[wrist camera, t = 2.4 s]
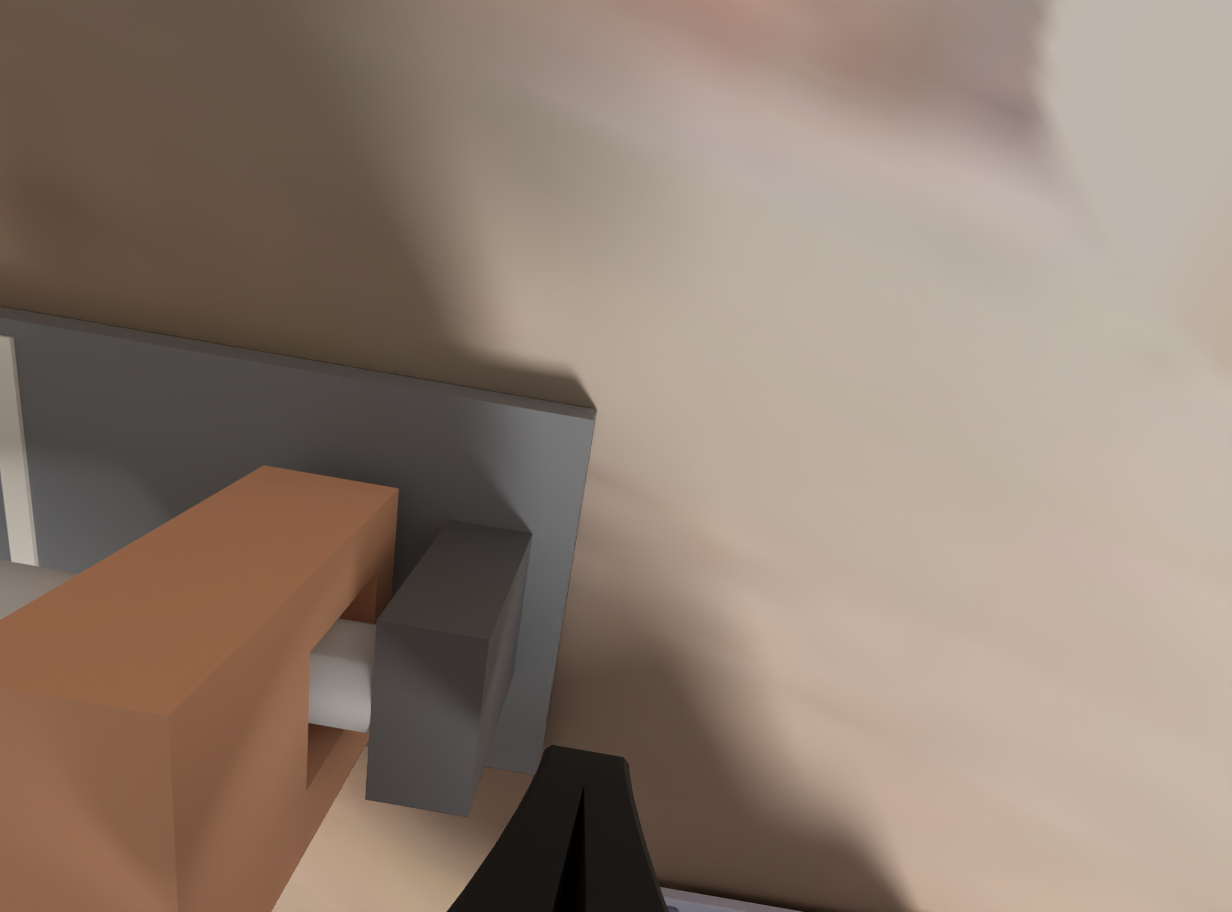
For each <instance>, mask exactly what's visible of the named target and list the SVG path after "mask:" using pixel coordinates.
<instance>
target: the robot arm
mask: <svg viewBox="0 0 1232 912" xmlns="http://www.w3.org/2000/svg"><path fill="white" fill-rule="evenodd" d="M667 906H673V907H667ZM560 911H561V912H802V911H796V910H790V909H785V908H779V907H773V906H767V905H762V904H756V903H750V902H744V901H738V900H733V899H727V898H721V897H715V896H710V895H704V894H698V893H692V892H686V891H681V890H675V889H669V888H663V887H660V886H659V883H658V880H657V877H656V874H655V871H654V868H653V865H652V862H651V858H650V855H649V852H648V849H647V846H646V843H645V839H644V836H643V832H642V829H641V825H640V821H639V817H638V813H637V809H636V805H635V801H634V796H633V791H632V786H631V780H630V774H629V764H628V763H627V762H626V760H625V759H624V758H623V757H618V756H613V755H607V754H601V753H595V752H590V751H584V750H578V749H572V748H566V747H561V746H555V745H551V746H550V747H548V748H546V749H545V750H544V753H543V756H542V759H541V762H540V764H539V767H538V769H537V771H536V774H535V776H534V778H533V780H532V782H531V784H530V786H529V788H528V790H527V792H526V794H525V795H524V797H523V799H522V801H521V803H520V805H519V807H518V808H517V810H516V812H515V813H514V815H513V816H512V818H511V820H510V821H509V823H508V825H507V826H506V828H505V830H504V831H503V833H502V835H501V836H500V838H499V839H498V841H497V843H496V844H495V846H494V847H493V849H492V850H491V852H490V853H489V854H488V856H487V857H486V859H485V860H484V862H483V863H482V864H481V866H480V867H479V869H478V870H477V872H476V873H475V874H474V876H473V877H472V879H471V880H470V882H469V883H468V884H467V886H466V887H465V889H464V890H463V891H462V893H461V894H460V895H459V897H458V898H457V899H456V900H455V902H454V903H453V904H452V906H451V907H450V908H449V910H448V911H447V912H560Z"/></svg>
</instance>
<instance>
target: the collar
mask: <svg viewBox="0 0 1232 912" xmlns="http://www.w3.org/2000/svg"><path fill="white" fill-rule="evenodd" d="M398 495H399V488H393V487H387V486H381V485H376V484H370V483H364V482H358V481H353V480H347V479H341V478H335V477H329V476H324V475H318V474H312V473H306V472H300V471H295V470H289V469H283V468H277V467H271V466H266V465H263V466H262V467H260V468H258V469H256V470H255V471H253V472H251V473H250V474H248V475H246V476H245V477H243V478H241V479H239V480H238V481H236V482H234V483H233V484H231V485H229V486H227V487H226V488H224V489H222V490H221V491H219V492H217V493H216V494H214V495H212V496H210V497H209V498H207V499H205V500H204V501H202V502H200V503H199V504H197V505H195V506H193V507H192V508H190V509H188V510H187V511H185V512H183V513H181V514H180V515H178V516H176V517H175V518H173V519H171V520H170V521H168V522H166V523H164V524H163V525H161V526H159V527H158V528H156V529H154V530H153V531H151V532H149V533H147V534H146V535H144V536H142V537H141V538H139V539H137V540H136V541H134V542H132V543H130V544H129V545H127V546H125V547H124V548H122V549H120V550H118V551H117V552H115V553H113V554H112V555H110V556H108V557H107V558H105V559H103V560H101V561H100V562H98V563H96V564H95V565H93V566H91V567H90V568H88V569H86V570H84V571H83V572H81V573H79V574H78V575H76V576H74V577H72V578H71V579H69V580H67V581H66V582H64V583H62V584H61V585H59V586H57V587H55V588H54V589H52V590H50V591H49V592H47V593H45V594H44V595H42V596H40V597H38V598H37V599H35V600H33V601H32V602H30V603H28V604H26V605H25V606H23V607H21V608H20V609H18V610H16V611H15V612H13V613H11V614H9V615H8V616H6V617H4V618H3V619H1V620H0V912H271V911H272V909H273V908H274V906H275V904H276V902H277V900H278V899H279V897H280V895H281V893H282V892H283V890H284V888H285V886H286V885H287V883H288V881H289V879H290V878H291V876H292V874H293V872H294V870H295V869H296V867H297V865H298V863H299V862H300V860H301V858H302V856H303V855H304V853H305V851H306V849H307V848H308V846H309V844H310V842H311V841H312V839H313V837H314V835H315V833H316V832H317V830H318V828H319V826H320V825H321V823H322V821H323V819H324V818H325V816H326V814H327V812H328V811H329V809H330V807H331V805H332V803H333V802H334V800H335V798H336V796H337V795H338V793H339V791H340V789H341V788H342V786H343V784H344V782H345V781H346V779H347V777H348V775H349V773H350V772H351V770H352V768H353V766H354V765H355V763H356V761H357V759H358V758H359V756H360V754H361V752H362V751H363V749H364V747H365V745H366V744H367V742H368V740H369V733H363V732H357V731H352V730H346V729H340V728H334V727H328V726H323V725H317V724H311V723H308V714H309V680H310V652H311V651H312V649H313V648H314V647H315V646H316V645H317V643H318V642H319V641H320V640H321V638H322V637H323V636H324V635H325V634H326V632H327V631H328V630H329V629H330V628H331V626H332V625H333V624H334V623H335V622H336V620H337V619H338V618H340V619H346V620H352V621H358V622H363V623H369V624H375V625H376V622H377V619H378V618H379V616H380V615H381V613H382V612H383V611H384V609H385V608H386V607H387V605H388V604H389V602H390V601H391V596H392V582H393V567H394V553H395V538H396V524H397V510H398Z"/></svg>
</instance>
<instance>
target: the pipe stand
mask: <svg viewBox="0 0 1232 912" xmlns="http://www.w3.org/2000/svg"><path fill="white" fill-rule="evenodd" d="M596 413H597V409H591V408H586V407H580V406H574V405H568V404H562V403H557V402H551V401H545V400H539V399H533V398H528V397H522V396H516V395H510V394H505V393H499V392H493V391H487V390H481V389H476V388H470V387H464V386H458V385H452V384H447V383H441V382H435V381H429V380H423V379H418V378H412V377H406V376H400V375H395V374H389V373H383V372H377V371H371V370H366V369H360V368H354V367H348V366H342V365H337V364H331V363H325V362H319V361H313V360H308V359H302V358H296V357H290V356H284V355H279V354H273V353H267V352H261V351H256V350H250V349H244V348H238V347H232V346H227V345H221V344H215V343H209V342H203V341H198V340H192V339H186V338H180V337H174V336H169V335H163V334H157V333H151V332H145V331H140V330H134V329H128V328H122V327H117V326H111V325H105V324H99V323H93V322H88V321H82V320H76V319H70V318H64V317H59V316H53V315H47V314H41V313H35V312H30V311H24V310H18V309H12V308H6V307H1V306H0V620H1V619H3V618H4V617H6V616H8V615H9V614H11V613H13V612H15V611H16V610H18V609H20V608H21V607H23V606H25V605H26V604H28V603H30V602H32V601H33V600H35V599H37V598H38V597H40V596H42V595H44V594H45V593H47V592H49V591H50V590H52V589H54V588H55V587H57V586H59V585H61V584H62V583H64V582H66V581H67V580H69V579H71V578H72V577H74V576H76V575H78V574H79V573H81V572H83V571H84V570H86V569H88V568H90V567H91V566H93V565H95V564H96V563H98V562H100V561H101V560H103V559H105V558H107V557H108V556H110V555H112V554H113V553H115V552H117V551H118V550H120V549H122V548H124V547H125V546H127V545H129V544H130V543H132V542H134V541H136V540H137V539H139V538H141V537H142V536H144V535H146V534H147V533H149V532H151V531H153V530H154V529H156V528H158V527H159V526H161V525H163V524H164V523H166V522H168V521H170V520H171V519H173V518H175V517H176V516H178V515H180V514H181V513H183V512H185V511H187V510H188V509H190V508H192V507H193V506H195V505H197V504H199V503H200V502H202V501H204V500H205V499H207V498H209V497H210V496H212V495H214V494H216V493H217V492H219V491H221V490H222V489H224V488H226V487H227V486H229V485H231V484H233V483H234V482H236V481H238V480H239V479H241V478H243V477H245V476H246V475H248V474H250V473H251V472H253V471H255V470H256V469H258V468H260V467H262V466H263V465H266V466H271V467H277V468H283V469H289V470H295V471H300V472H306V473H312V474H318V475H324V476H329V477H335V478H341V479H347V480H353V481H358V482H364V483H370V484H376V485H381V486H387V487H393V488H399V495H398V510H397V524H396V538H395V553H394V567H393V582H392V596H391V601H390V602H389V604H388V605H387V607H386V608H385V609H384V611H383V612H382V613H381V615H380V616H379V618H378V619H377V622H376V625H375V624H369V623H363V622H358V621H352V620H346V619H340V618H338V619H337V620H336V622H335V623H334V624H333V625H332V626H331V628H330V629H329V630H328V631H327V632H326V634H325V635H324V636H323V637H322V638H321V640H320V641H319V642H318V643H317V645H316V646H315V647H314V648H313V649H312V651H311V652H310V680H309V714H308V723H311V724H317V725H323V726H328V727H334V728H340V729H346V730H352V731H357V732H363V733H369V740H368V742H367V744H366V745H365V746H369V749H368V765H367V781H366V797H365V800H371V801H377V802H383V803H389V804H394V805H400V806H406V807H412V808H417V809H423V810H429V811H435V812H441V813H446V814H452V815H458V816H464V817H468V814H469V811H470V808H471V805H472V802H473V799H474V796H475V793H476V789H477V786H478V783H479V780H480V777H481V774H482V771H483V768H484V766H485V767H491V768H497V769H503V770H508V771H514V772H520V773H526V774H532V775H535V774H536V771H537V769H538V767H539V764H540V759H541V755H542V750H543V744H544V738H545V732H546V725H547V719H548V713H549V706H550V700H551V694H552V688H553V681H554V675H555V669H556V663H557V656H558V650H559V644H560V638H561V631H562V625H563V619H564V613H565V606H566V600H567V594H568V588H569V581H570V575H571V569H572V563H573V556H574V550H575V544H576V538H577V531H578V525H579V519H580V513H581V506H582V500H583V494H584V488H585V481H586V475H587V469H588V463H589V456H590V450H591V444H592V438H593V431H594V425H595V419H596Z"/></svg>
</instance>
